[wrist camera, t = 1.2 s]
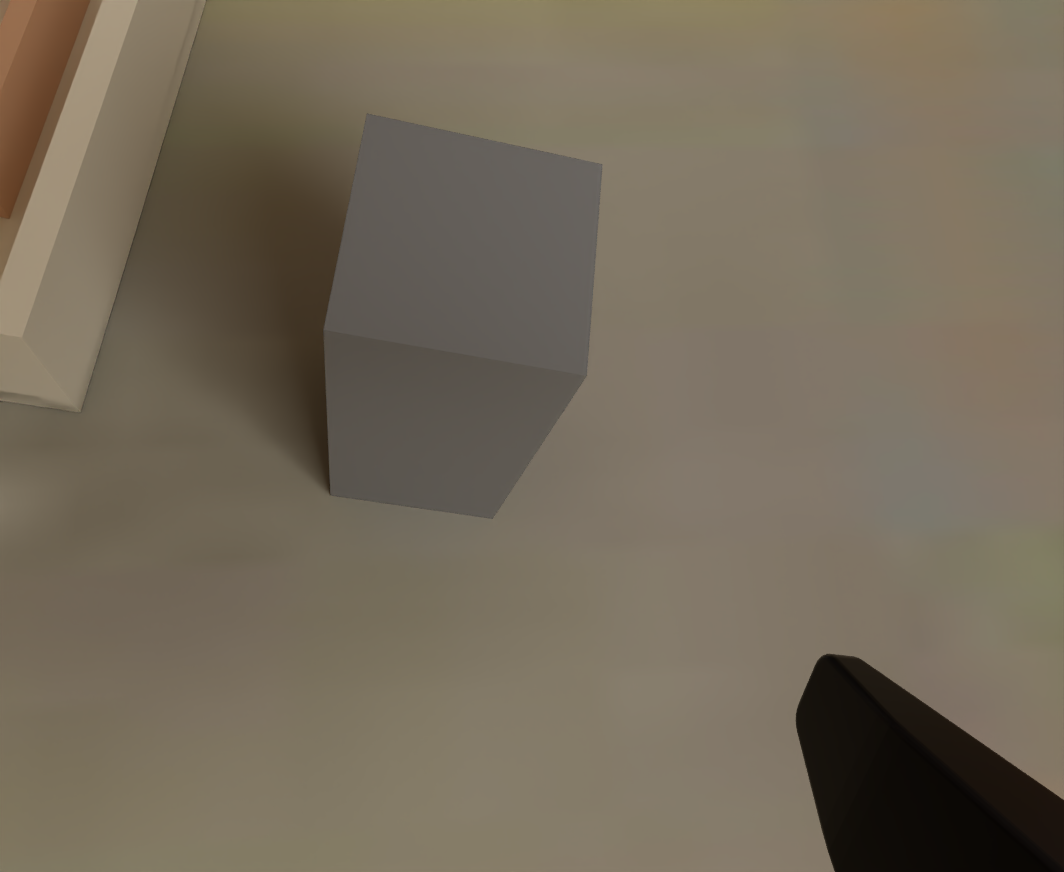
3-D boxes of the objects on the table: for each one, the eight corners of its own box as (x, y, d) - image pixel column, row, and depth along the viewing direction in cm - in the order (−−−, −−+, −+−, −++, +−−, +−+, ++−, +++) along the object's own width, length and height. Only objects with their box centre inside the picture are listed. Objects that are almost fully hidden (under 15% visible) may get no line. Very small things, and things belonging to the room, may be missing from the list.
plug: (492, 518, 24) (586, 375, 15) (330, 495, 23) (323, 330, 14) (508, 373, 26) (602, 163, 16) (357, 348, 25) (366, 113, 16)
